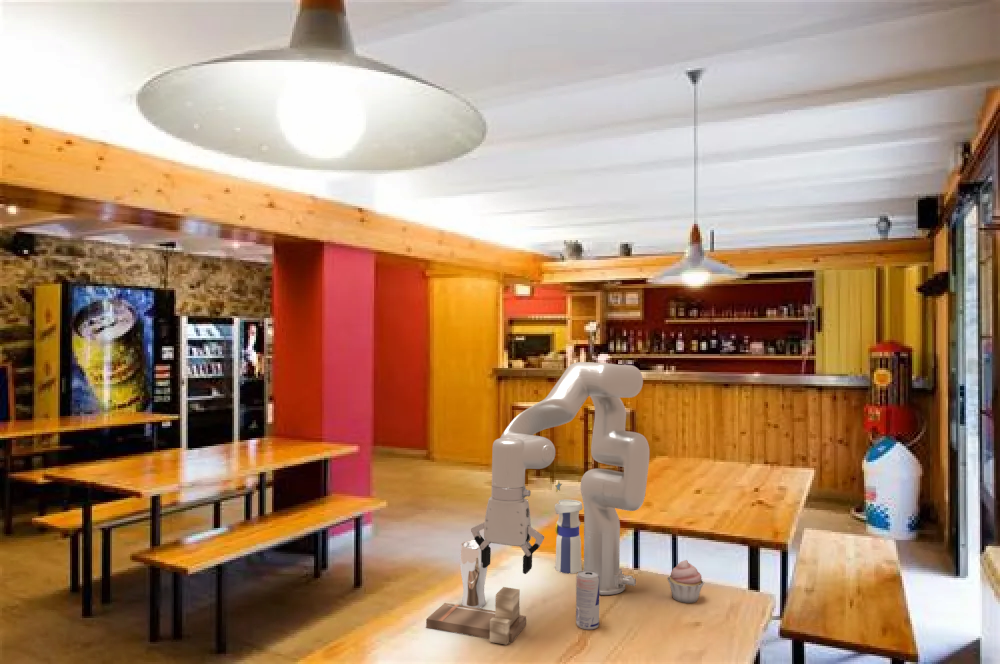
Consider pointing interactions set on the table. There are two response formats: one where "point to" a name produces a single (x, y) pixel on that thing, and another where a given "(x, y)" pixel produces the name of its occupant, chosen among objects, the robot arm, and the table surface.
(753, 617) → the table surface
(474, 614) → the board
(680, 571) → the cupcake
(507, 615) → the stacked wooden blocks
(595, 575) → the energy drink
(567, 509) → the water bottle
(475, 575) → the beer glass
